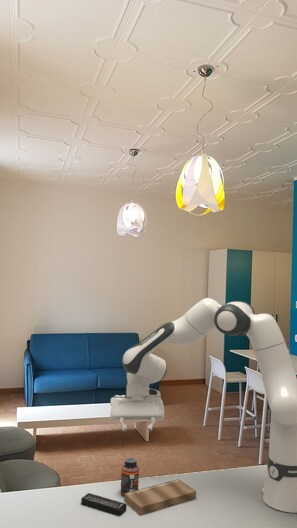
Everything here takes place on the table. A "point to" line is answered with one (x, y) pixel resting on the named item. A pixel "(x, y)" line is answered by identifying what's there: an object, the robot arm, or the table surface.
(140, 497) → the walnut board
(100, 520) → the table surface
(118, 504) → the multiport hub
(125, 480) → the supplement bottle
